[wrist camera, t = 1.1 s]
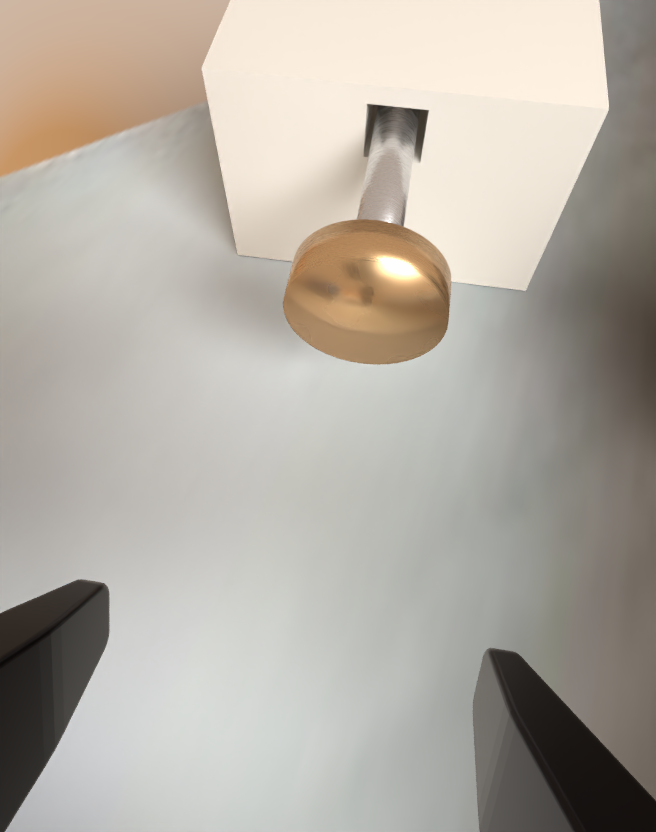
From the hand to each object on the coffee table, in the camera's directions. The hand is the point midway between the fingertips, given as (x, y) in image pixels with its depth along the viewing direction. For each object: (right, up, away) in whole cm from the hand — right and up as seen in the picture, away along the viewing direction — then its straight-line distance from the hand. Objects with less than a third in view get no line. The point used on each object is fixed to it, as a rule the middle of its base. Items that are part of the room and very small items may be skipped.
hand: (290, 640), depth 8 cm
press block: (+4, +14, +22) cm, 26 cm away
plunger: (+3, +10, +14) cm, 17 cm away
